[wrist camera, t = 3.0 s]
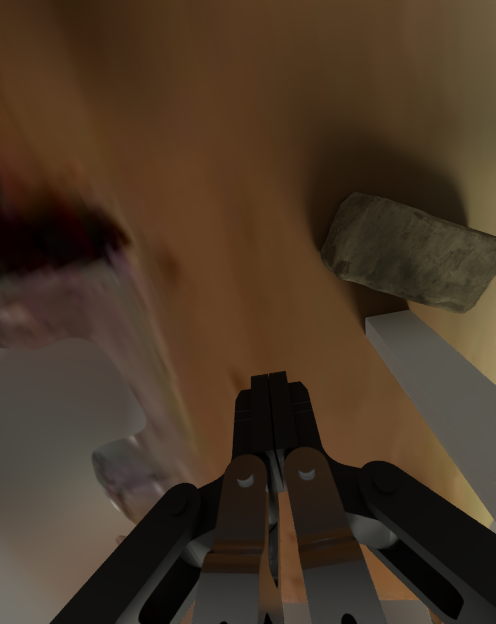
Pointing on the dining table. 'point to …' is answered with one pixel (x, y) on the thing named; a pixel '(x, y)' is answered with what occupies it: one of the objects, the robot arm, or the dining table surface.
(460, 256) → the stone block
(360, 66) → the dining table surface
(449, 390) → the door frame
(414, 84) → the dining table surface
